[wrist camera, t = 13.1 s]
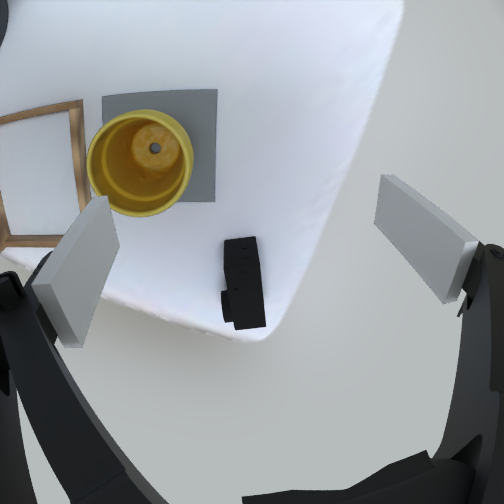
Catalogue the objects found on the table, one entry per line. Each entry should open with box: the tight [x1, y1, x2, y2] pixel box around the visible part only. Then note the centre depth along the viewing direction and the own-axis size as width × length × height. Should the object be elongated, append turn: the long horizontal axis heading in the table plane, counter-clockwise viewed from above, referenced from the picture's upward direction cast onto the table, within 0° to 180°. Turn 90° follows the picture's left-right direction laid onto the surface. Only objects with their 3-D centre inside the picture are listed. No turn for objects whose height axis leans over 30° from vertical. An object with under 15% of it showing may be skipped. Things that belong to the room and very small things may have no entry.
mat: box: [102, 90, 217, 202], centre depth 35 cm, size 14×14×1 cm
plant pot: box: [86, 109, 194, 217], centre depth 31 cm, size 10×10×10 cm
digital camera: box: [221, 237, 266, 330], centre depth 42 cm, size 10×5×7 cm, turn 6°
